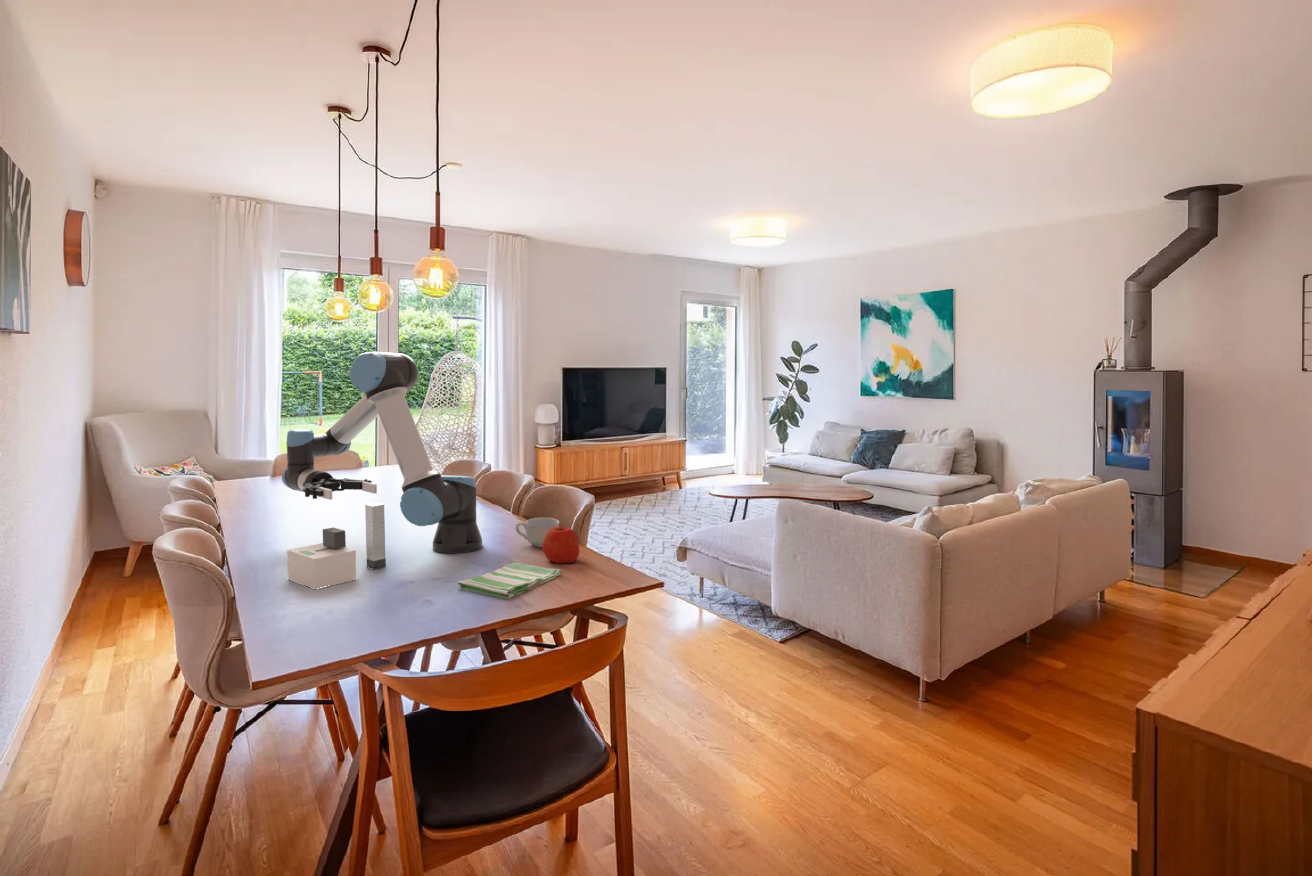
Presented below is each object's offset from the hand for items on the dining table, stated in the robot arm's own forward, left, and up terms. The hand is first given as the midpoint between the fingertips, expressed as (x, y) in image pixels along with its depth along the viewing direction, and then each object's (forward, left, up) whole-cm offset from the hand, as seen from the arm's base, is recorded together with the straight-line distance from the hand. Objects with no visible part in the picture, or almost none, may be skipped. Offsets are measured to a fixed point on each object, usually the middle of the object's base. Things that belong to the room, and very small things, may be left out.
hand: (354, 491), depth 196 cm
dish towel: (-47, +23, -21) cm, 56 cm away
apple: (-60, +4, -21) cm, 63 cm away
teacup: (-52, -16, -21) cm, 58 cm away
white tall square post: (-8, +7, -20) cm, 23 cm away
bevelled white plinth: (+3, +18, -20) cm, 28 cm away
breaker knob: (+1, +16, -12) cm, 20 cm away
